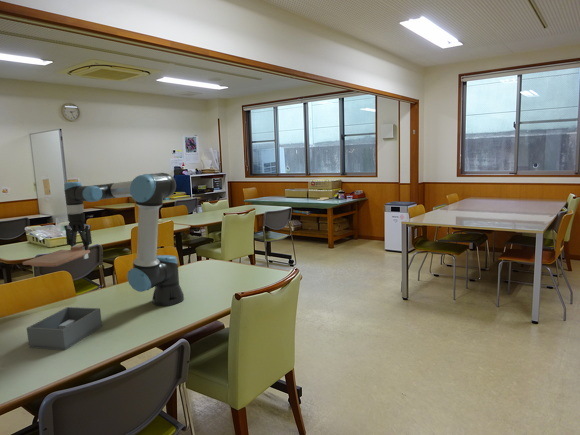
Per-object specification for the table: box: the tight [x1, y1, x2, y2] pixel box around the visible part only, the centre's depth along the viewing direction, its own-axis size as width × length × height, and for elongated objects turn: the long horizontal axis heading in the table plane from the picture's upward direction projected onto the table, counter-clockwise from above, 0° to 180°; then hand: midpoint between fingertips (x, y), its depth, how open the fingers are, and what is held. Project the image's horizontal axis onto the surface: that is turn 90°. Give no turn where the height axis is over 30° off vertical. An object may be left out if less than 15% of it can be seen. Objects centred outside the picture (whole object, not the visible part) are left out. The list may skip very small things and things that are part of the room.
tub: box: [26, 306, 103, 351], centre depth 169 cm, size 16×22×8 cm
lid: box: [22, 243, 91, 268], centre depth 197 cm, size 17×30×4 cm, turn 169°
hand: (81, 258), depth 209 cm, fingers closed on lid, 5 cm apart
